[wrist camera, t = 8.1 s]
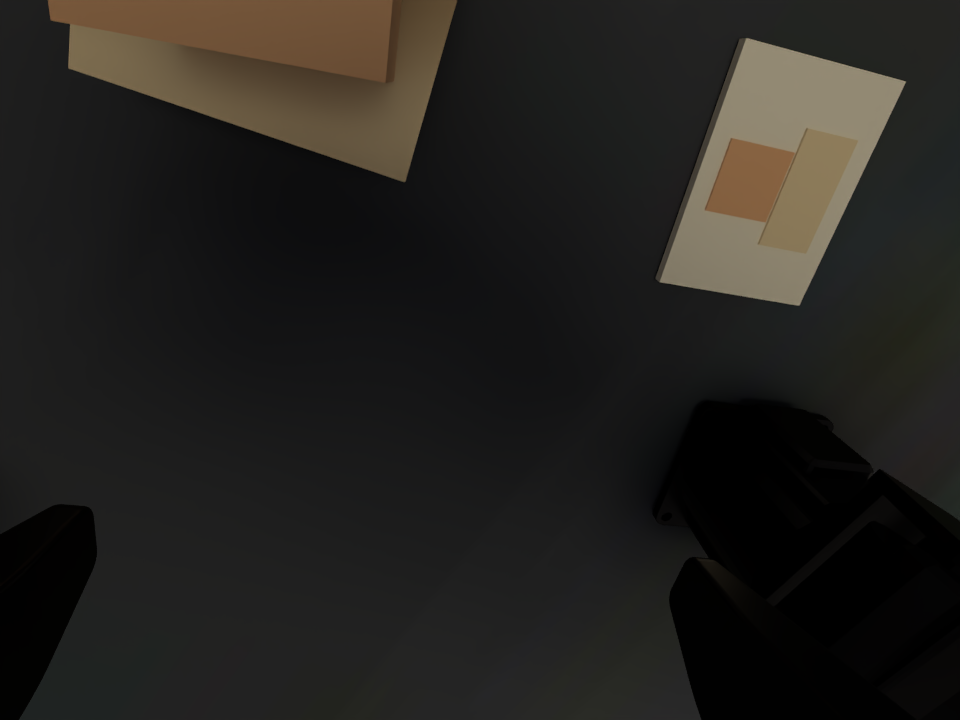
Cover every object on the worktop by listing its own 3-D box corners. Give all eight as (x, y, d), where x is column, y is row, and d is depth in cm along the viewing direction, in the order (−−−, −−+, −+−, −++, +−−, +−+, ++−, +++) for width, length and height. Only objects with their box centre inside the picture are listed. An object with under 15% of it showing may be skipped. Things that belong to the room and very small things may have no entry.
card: (792, 302, 22) (800, 306, 22) (655, 278, 21) (660, 282, 21) (896, 81, 19) (908, 81, 18) (739, 38, 18) (748, 37, 17)
